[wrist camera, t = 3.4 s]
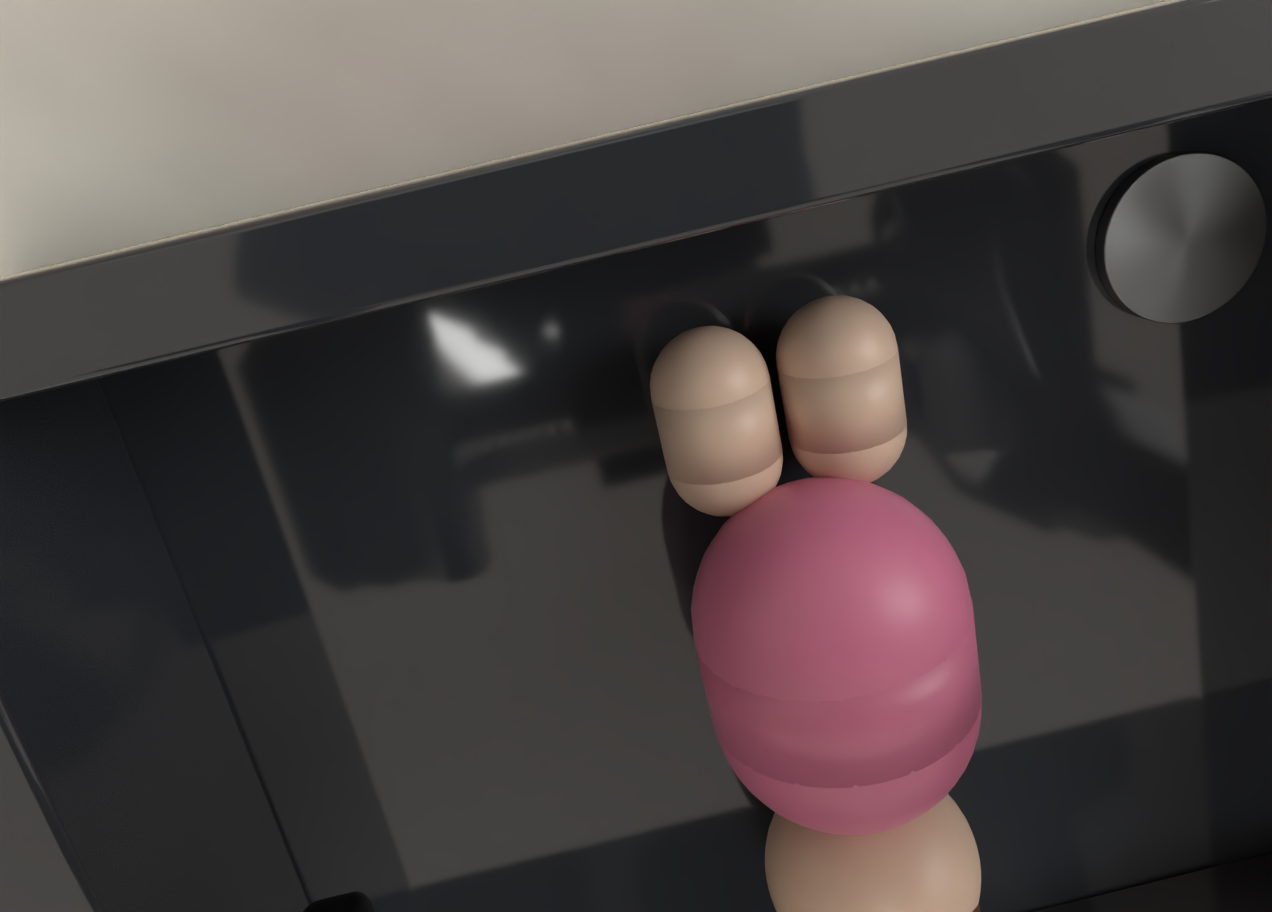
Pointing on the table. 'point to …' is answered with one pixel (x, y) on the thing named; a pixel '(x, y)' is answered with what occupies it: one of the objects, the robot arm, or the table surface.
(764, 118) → the sink
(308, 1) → the table surface
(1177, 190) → the drain
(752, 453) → the doll
